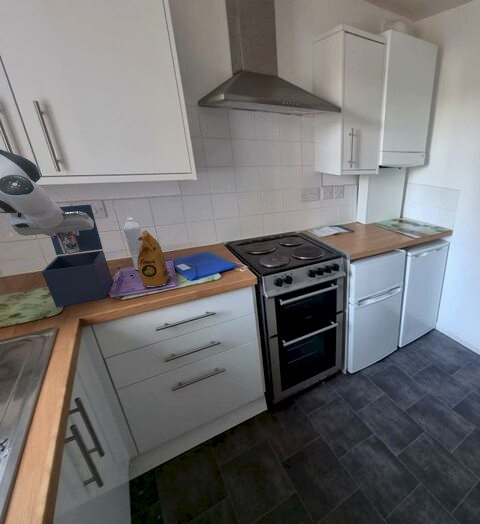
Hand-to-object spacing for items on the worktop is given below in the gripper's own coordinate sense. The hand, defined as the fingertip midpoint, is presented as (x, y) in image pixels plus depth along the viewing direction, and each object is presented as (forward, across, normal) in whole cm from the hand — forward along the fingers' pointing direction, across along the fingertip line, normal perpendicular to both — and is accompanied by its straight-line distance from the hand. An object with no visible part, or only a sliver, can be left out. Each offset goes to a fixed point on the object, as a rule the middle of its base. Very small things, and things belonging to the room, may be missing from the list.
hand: (66, 235), depth 111 cm
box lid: (+7, 0, -7) cm, 10 cm away
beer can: (+4, 0, +5) cm, 7 cm away
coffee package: (+16, -24, +18) cm, 34 cm away
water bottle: (+30, -17, +4) cm, 35 cm away
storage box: (+17, 0, +17) cm, 24 cm away
